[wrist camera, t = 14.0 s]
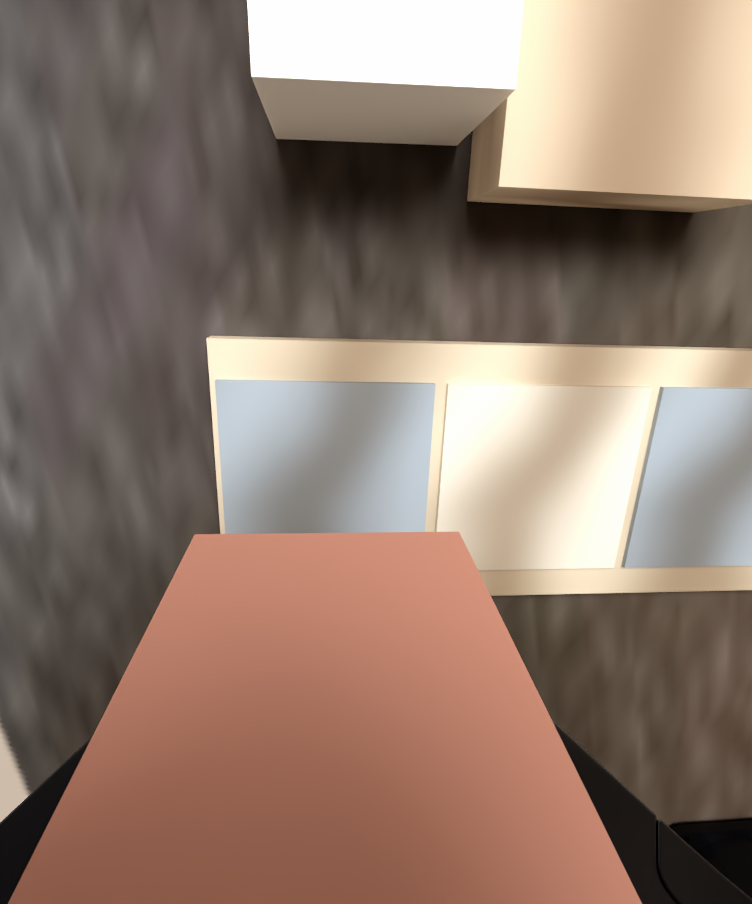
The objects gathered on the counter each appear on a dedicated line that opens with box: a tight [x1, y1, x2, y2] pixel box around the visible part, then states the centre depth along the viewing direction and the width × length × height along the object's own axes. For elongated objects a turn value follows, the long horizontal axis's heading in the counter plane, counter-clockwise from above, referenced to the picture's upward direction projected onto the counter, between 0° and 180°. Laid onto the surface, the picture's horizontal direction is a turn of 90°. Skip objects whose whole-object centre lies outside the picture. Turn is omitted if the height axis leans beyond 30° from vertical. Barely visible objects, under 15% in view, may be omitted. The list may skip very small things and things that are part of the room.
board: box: [206, 336, 752, 596], centre depth 18 cm, size 21×9×1 cm, turn 88°
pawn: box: [8, 532, 642, 904], centre depth 6 cm, size 4×4×7 cm
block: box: [467, 0, 752, 213], centre depth 13 cm, size 7×7×3 cm
